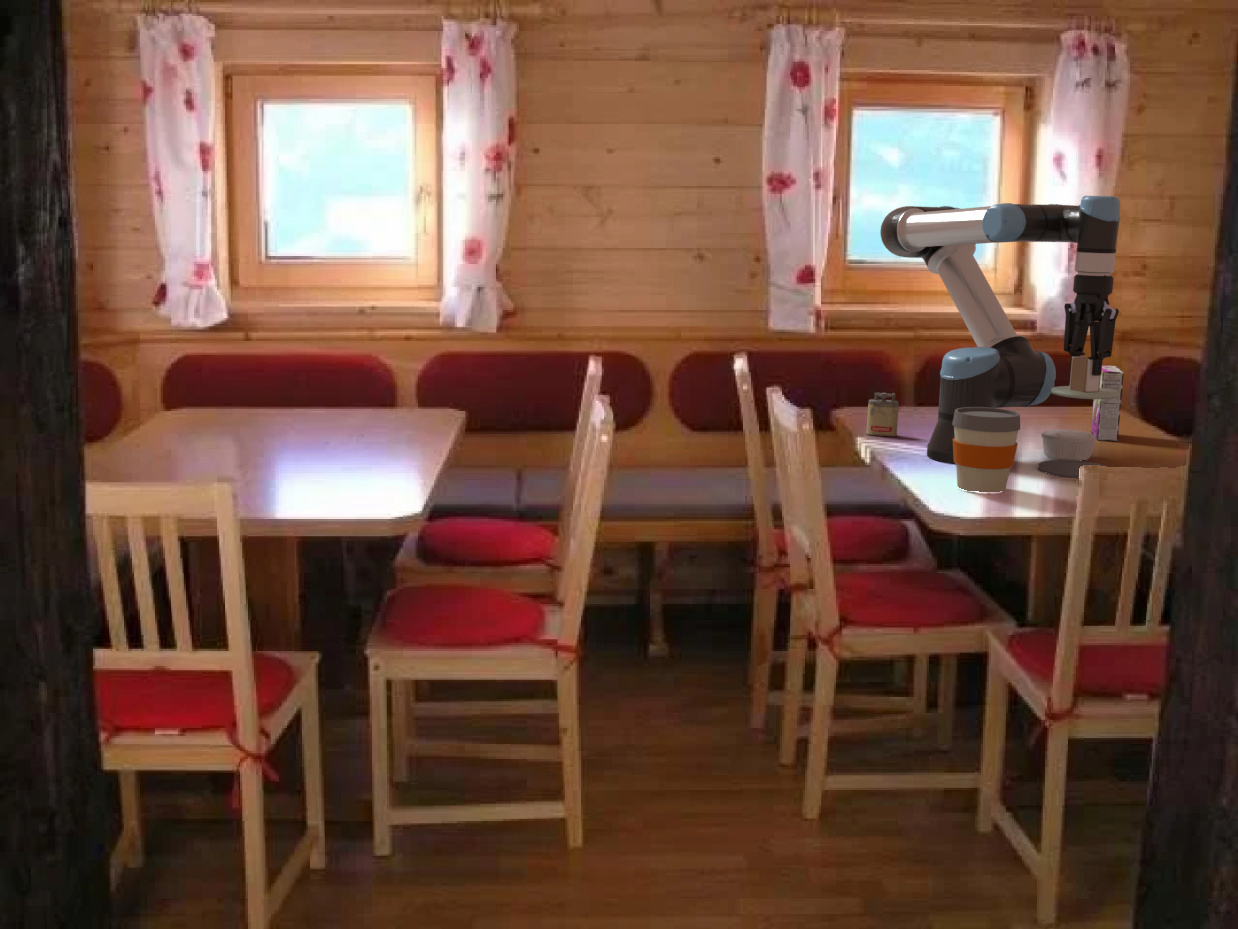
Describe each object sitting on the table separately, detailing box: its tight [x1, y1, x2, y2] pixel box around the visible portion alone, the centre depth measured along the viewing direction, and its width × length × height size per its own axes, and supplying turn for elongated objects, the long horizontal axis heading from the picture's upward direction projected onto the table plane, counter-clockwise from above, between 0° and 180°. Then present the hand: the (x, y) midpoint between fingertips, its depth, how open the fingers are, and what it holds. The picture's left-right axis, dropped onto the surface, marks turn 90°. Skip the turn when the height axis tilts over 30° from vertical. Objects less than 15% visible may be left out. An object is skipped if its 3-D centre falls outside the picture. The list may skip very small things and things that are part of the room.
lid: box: [1051, 356, 1118, 400], centre depth 274 cm, size 13×13×7 cm
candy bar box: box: [1090, 364, 1125, 442], centre depth 317 cm, size 11×5×16 cm, turn 168°
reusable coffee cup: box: [952, 407, 1021, 492], centre depth 258 cm, size 13×13×15 cm
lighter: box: [865, 392, 900, 437], centre depth 314 cm, size 7×4×10 cm, turn 76°
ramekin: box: [1041, 429, 1097, 461], centre depth 292 cm, size 11×11×5 cm
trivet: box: [1037, 459, 1107, 479], centre depth 278 cm, size 15×15×1 cm
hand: (1083, 389), depth 275 cm, fingers closed on lid, 4 cm apart
